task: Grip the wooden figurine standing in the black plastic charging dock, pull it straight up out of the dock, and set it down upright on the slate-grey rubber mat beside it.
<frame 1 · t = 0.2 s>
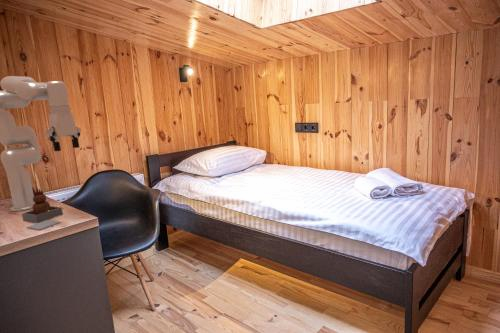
hand: (67, 149, 144), 31 cm above the table, tool pointing down, fingers open, 9 cm apart
dock: (43, 217, 150), on the table
mat: (44, 225, 138), on the table
wooden figurine: (43, 218, 150), resting in dock
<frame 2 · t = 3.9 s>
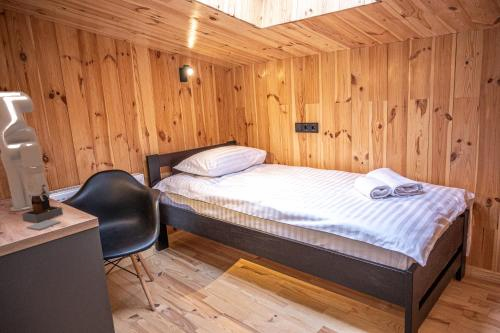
hand: (41, 207, 149), 5 cm above the table, tool pointing down, fingers closed on wooden figurine, 6 cm apart
wooden figurine: (43, 218, 150), resting in dock, touching gripper
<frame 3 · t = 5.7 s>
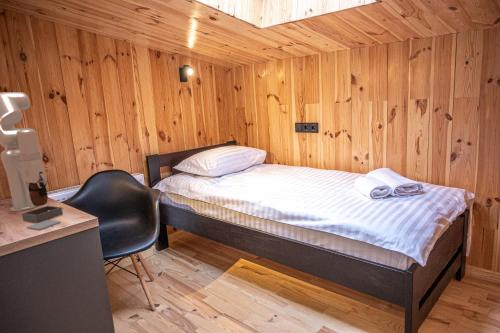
hand: (38, 195, 148), 11 cm above the table, tool pointing down, fingers closed on wooden figurine, 6 cm apart
wooden figurine: (40, 205, 149), point 6 cm above the table, touching gripper
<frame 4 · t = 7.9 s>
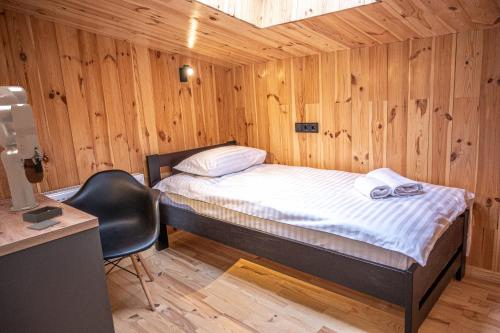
hand: (34, 172, 144), 22 cm above the table, tool pointing down, fingers closed on wooden figurine, 6 cm apart
wooden figurine: (36, 183, 145), point 17 cm above the table, touching gripper
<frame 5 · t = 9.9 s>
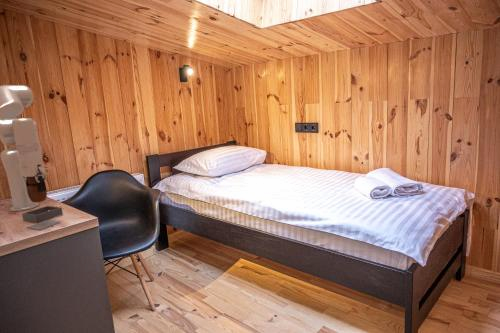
hand: (36, 190, 135), 16 cm above the table, tool pointing down, fingers closed on wooden figurine, 6 cm apart
wooden figurine: (39, 201, 136), point 11 cm above the table, touching gripper
when the fingers open (7 cm above the table, at t = 12.0 s): wooden figurine drops 1 cm, resting on mat.
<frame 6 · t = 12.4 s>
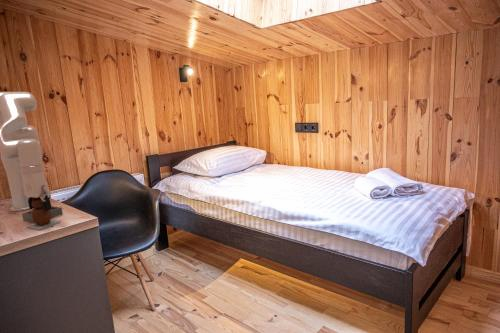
hand: (40, 209, 137), 7 cm above the table, tool pointing down, fingers open, 9 cm apart
wooden figurine: (43, 224, 138), resting on mat
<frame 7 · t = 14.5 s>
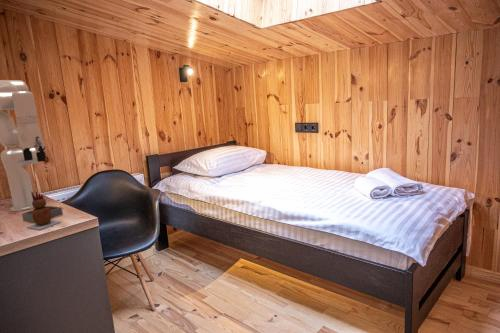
hand: (35, 160, 140), 27 cm above the table, tool pointing down, fingers open, 9 cm apart
nothing on the table moved.
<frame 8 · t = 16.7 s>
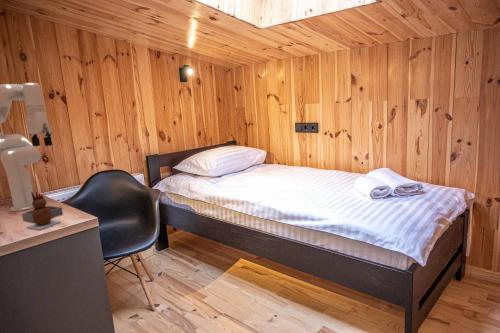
hand: (42, 145, 156), 32 cm above the table, tool pointing down, fingers open, 9 cm apart
nothing on the table moved.
at the end: wooden figurine 0.2 cm from the mat (horizontally); wooden figurine tilted 0°; wooden figurine touching mat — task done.
